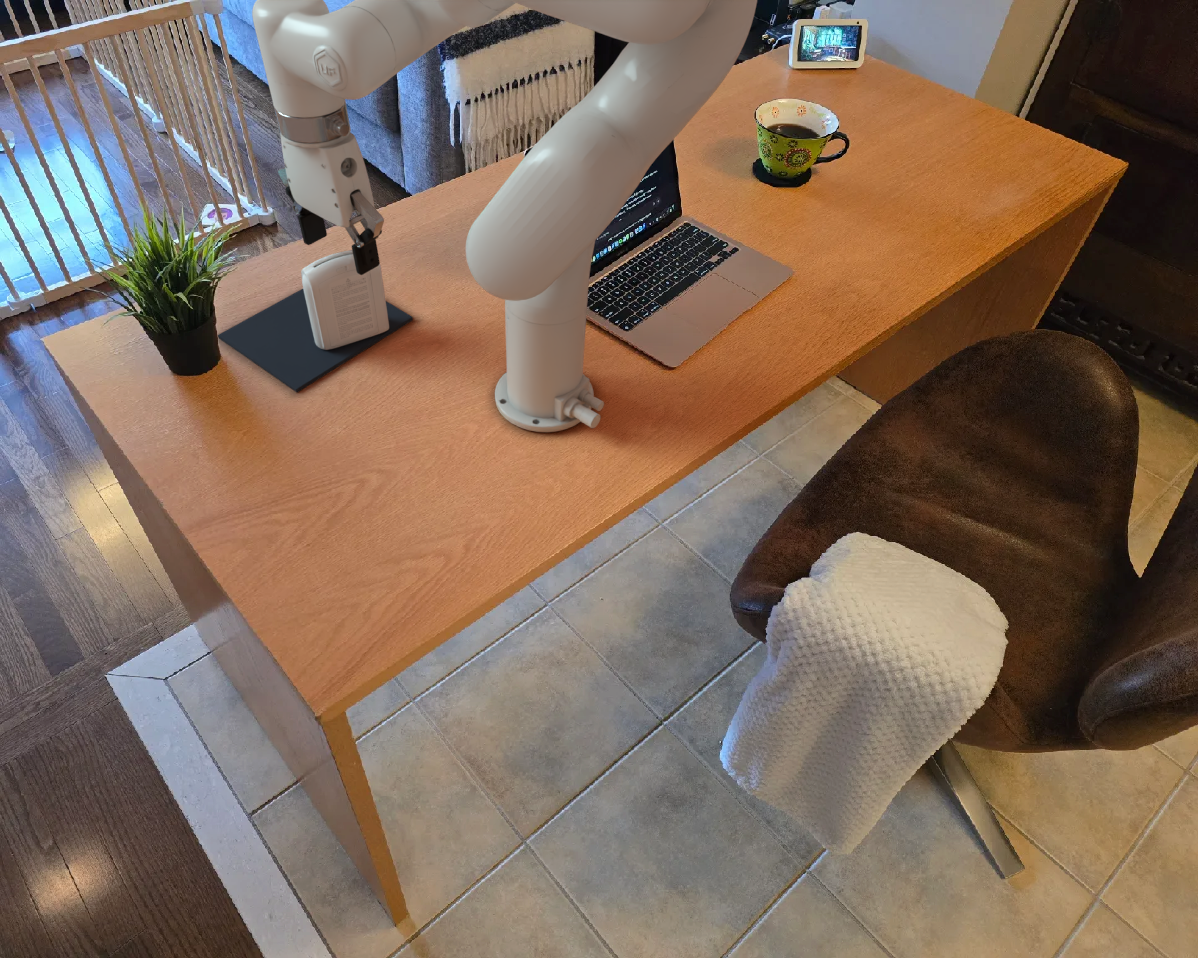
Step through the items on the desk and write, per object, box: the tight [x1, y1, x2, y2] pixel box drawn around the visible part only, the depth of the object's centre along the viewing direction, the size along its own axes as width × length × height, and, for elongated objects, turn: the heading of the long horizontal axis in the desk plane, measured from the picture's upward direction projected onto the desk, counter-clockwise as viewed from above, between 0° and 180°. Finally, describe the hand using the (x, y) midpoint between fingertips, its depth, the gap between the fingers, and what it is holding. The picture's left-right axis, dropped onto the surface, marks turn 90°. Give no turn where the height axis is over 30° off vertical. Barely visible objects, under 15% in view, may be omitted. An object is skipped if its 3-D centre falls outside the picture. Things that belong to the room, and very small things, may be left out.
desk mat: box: [217, 288, 414, 393], centre depth 119 cm, size 16×20×1 cm
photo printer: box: [300, 249, 389, 350], centre depth 113 cm, size 10×4×12 cm, turn 124°
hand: (341, 254), depth 108 cm, fingers open, 9 cm apart
